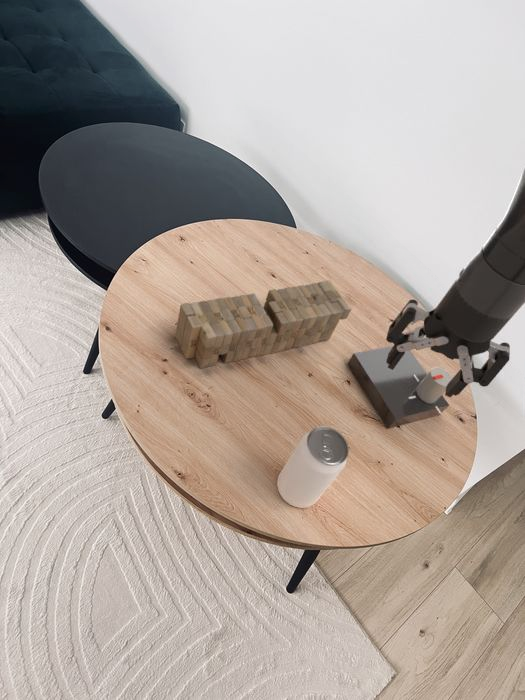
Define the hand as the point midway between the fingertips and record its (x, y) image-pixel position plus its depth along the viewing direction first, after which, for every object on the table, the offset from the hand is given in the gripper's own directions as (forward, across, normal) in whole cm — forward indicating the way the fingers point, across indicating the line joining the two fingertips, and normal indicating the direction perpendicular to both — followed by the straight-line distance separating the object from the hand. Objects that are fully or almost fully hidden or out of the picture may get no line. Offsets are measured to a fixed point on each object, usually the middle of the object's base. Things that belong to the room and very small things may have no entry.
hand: (419, 378), depth 73 cm
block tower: (+17, -23, +11) cm, 31 cm away
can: (+17, -8, -13) cm, 23 cm away
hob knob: (+14, +7, +13) cm, 20 cm away
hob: (+17, +2, +14) cm, 22 cm away
